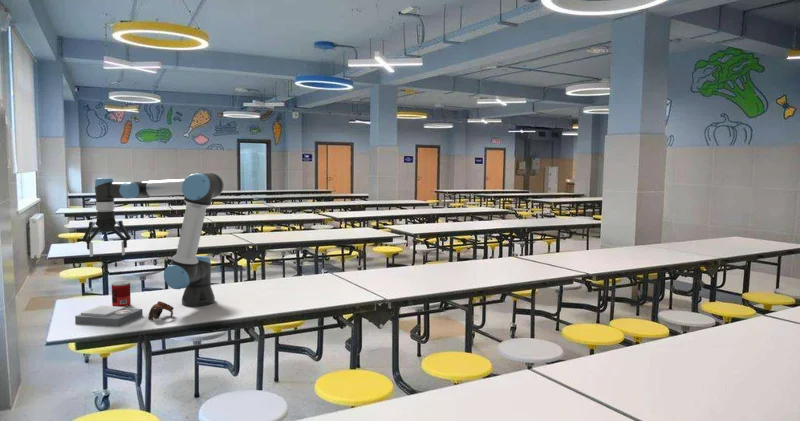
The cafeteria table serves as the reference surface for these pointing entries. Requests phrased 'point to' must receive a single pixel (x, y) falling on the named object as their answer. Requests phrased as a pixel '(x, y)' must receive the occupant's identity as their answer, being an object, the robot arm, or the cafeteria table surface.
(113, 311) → the dial scale
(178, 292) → the cafeteria table surface
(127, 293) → the canned food
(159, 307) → the brown arched piece
